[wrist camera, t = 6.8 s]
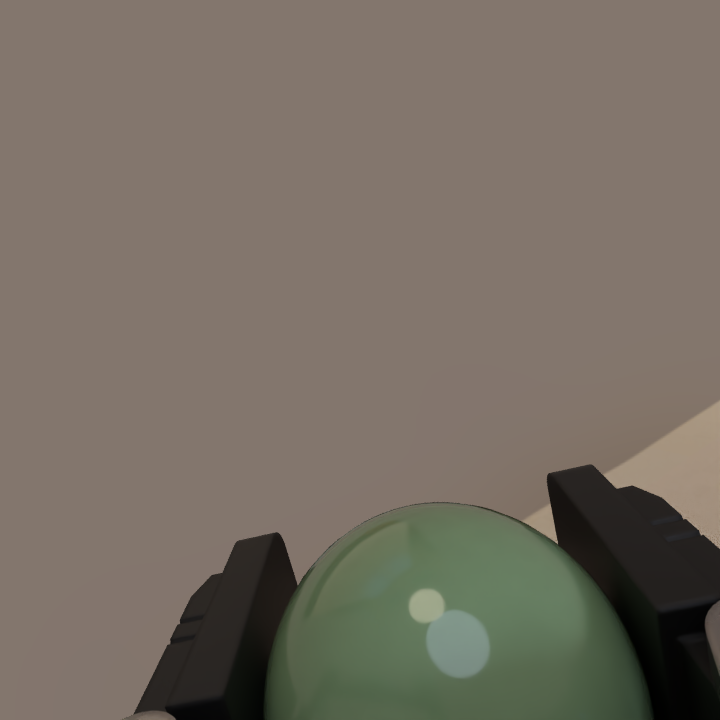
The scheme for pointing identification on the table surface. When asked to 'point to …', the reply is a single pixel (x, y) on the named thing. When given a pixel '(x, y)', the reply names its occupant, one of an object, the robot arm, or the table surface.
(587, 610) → the green capsule
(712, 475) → the table surface
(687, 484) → the table surface
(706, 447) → the table surface
